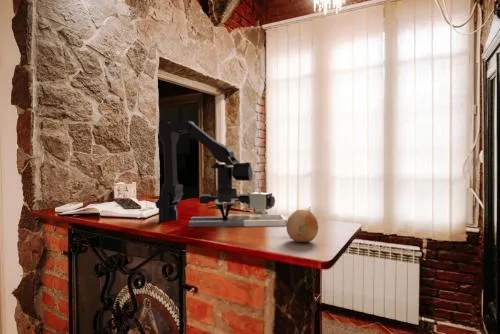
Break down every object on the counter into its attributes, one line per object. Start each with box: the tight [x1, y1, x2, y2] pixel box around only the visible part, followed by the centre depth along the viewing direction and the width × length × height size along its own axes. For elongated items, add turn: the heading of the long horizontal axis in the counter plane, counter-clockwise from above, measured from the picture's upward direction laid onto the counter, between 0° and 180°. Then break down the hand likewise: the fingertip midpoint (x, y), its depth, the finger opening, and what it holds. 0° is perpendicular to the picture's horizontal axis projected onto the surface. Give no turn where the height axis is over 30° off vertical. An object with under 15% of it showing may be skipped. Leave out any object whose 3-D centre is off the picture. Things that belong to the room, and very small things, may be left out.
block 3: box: [250, 214, 261, 220], centre depth 118 cm, size 4×4×3 cm
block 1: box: [228, 213, 240, 220], centre depth 118 cm, size 4×4×3 cm
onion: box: [285, 209, 319, 243], centre depth 95 cm, size 10×10×10 cm
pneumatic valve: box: [245, 190, 276, 215], centre depth 131 cm, size 6×12×12 cm, turn 63°
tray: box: [244, 213, 288, 227], centre depth 119 cm, size 16×12×3 cm
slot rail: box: [188, 215, 245, 228], centre depth 117 cm, size 20×10×3 cm, turn 94°
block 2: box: [238, 213, 251, 220], centre depth 118 cm, size 4×4×3 cm
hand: (225, 221), depth 118 cm, fingers closed
